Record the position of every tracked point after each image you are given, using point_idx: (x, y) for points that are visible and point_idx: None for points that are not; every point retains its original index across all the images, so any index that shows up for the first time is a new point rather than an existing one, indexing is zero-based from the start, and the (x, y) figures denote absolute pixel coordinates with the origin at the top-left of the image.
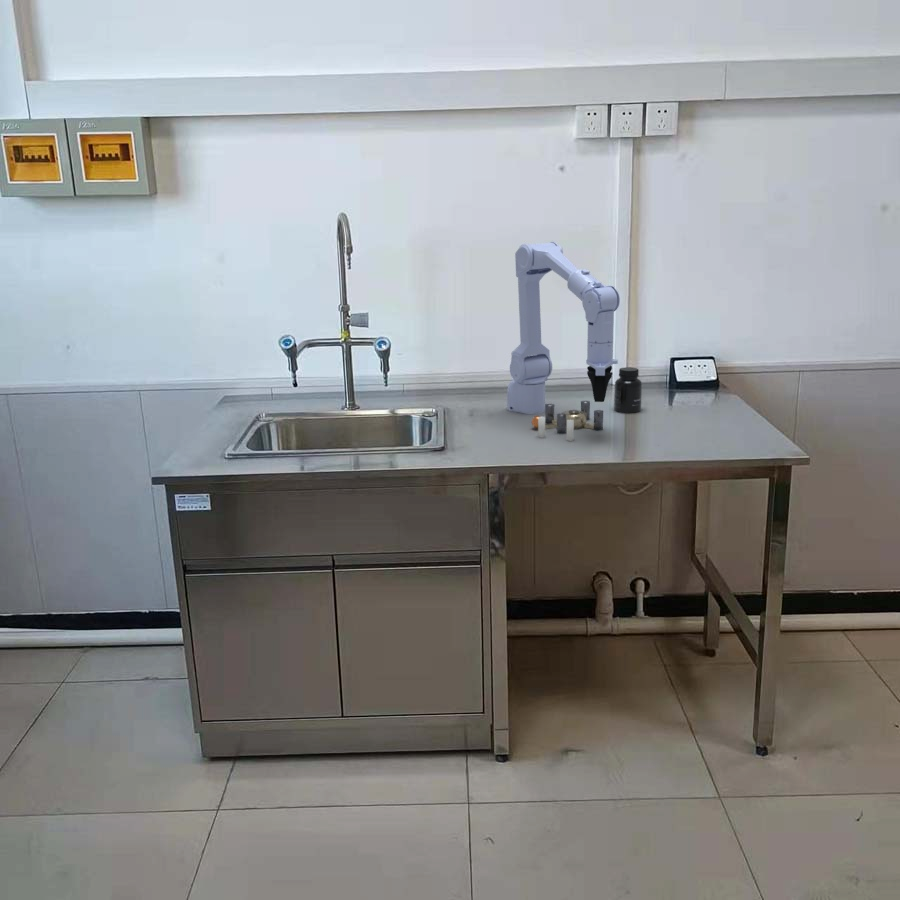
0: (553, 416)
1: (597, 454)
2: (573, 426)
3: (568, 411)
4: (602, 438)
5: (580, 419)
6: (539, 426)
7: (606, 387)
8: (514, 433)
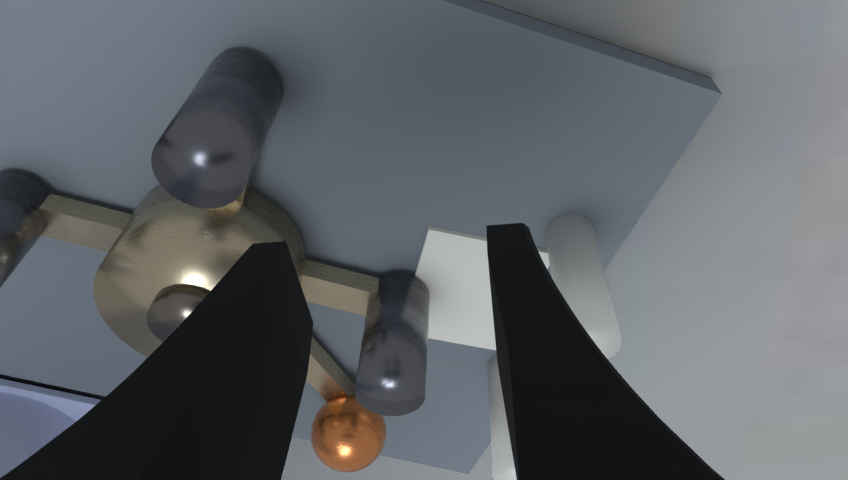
0: None
1: (793, 19)
2: (596, 290)
3: (152, 343)
4: None
5: None
6: None
7: (609, 368)
8: None
